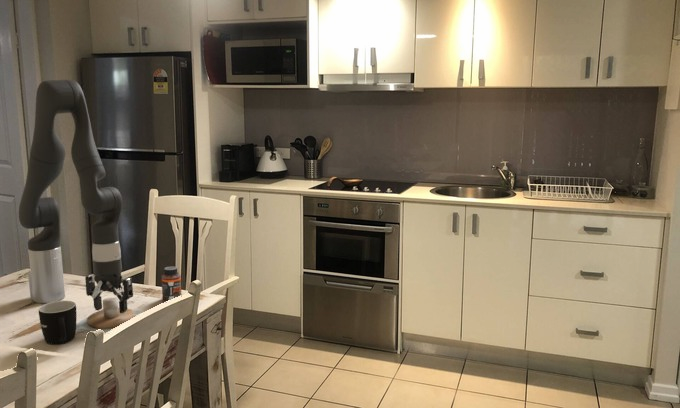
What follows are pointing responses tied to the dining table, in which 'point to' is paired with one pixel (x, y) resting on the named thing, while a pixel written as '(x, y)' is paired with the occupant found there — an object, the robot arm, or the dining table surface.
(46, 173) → the robot arm
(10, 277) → the dining table surface
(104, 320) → the lid
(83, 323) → the mat
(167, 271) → the supplement bottle
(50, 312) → the mug
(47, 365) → the dining table surface
